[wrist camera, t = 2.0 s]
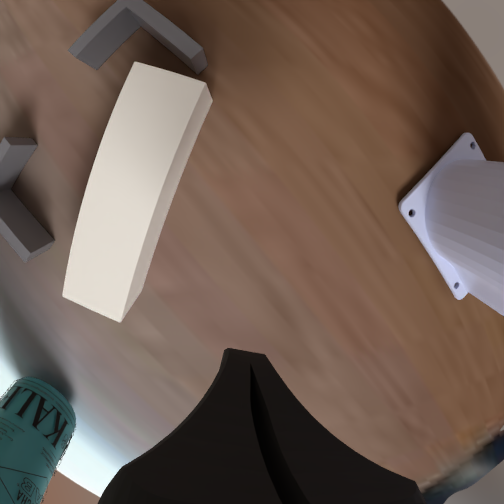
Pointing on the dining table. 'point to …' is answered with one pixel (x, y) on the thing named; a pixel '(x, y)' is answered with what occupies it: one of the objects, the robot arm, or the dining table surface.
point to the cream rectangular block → (133, 187)
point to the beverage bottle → (32, 439)
